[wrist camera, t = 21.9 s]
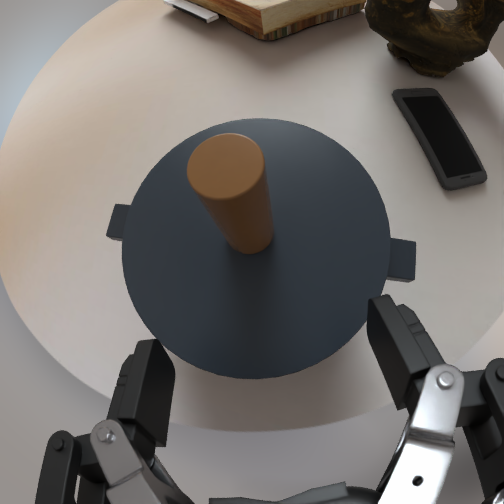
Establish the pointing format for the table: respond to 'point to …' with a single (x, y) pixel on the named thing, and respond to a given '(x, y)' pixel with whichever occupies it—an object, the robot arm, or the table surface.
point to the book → (269, 13)
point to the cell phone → (441, 137)
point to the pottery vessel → (435, 31)
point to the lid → (256, 248)
